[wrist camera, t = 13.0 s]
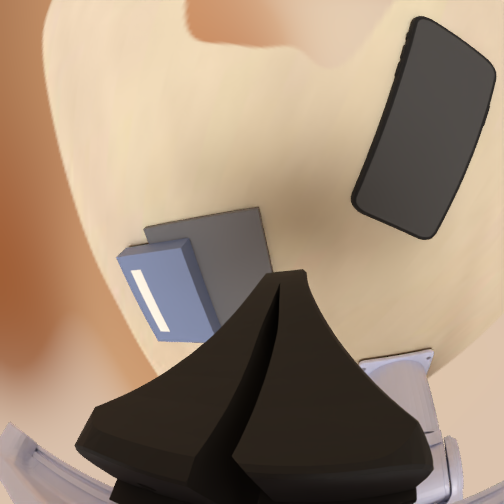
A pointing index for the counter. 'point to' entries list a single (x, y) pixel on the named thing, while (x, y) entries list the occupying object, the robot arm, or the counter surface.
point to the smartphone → (425, 131)
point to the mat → (223, 254)
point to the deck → (170, 290)
